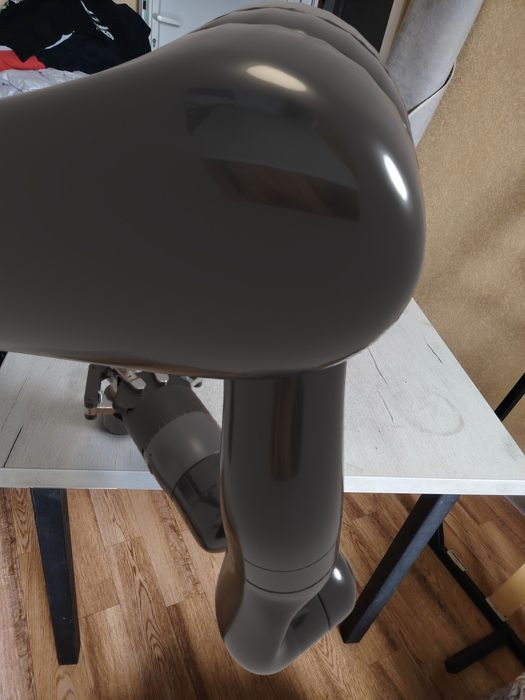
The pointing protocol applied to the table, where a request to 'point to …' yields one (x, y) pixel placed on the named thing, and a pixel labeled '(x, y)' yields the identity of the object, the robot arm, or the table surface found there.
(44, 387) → the table surface
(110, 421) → the brown and grey cylinder
